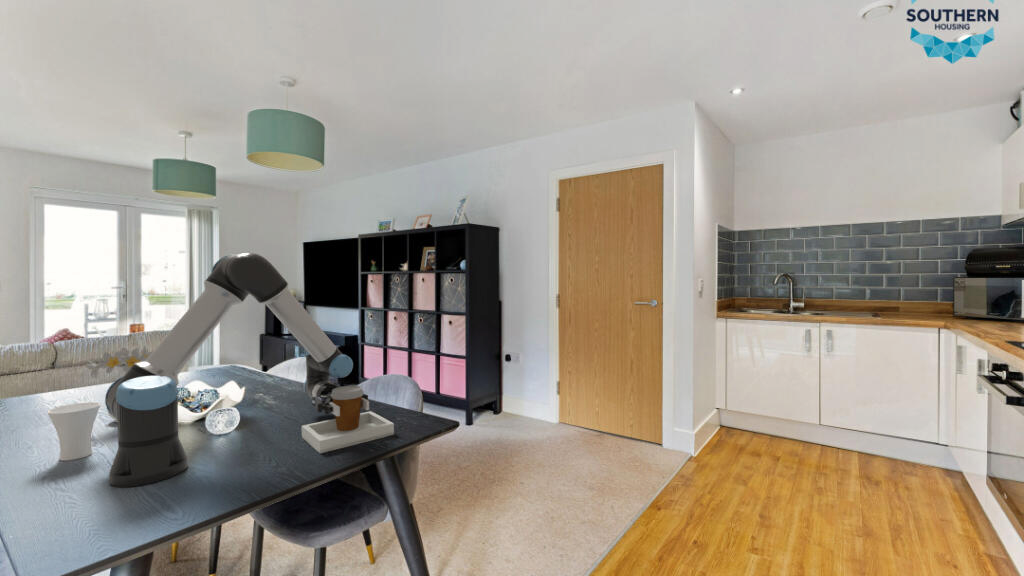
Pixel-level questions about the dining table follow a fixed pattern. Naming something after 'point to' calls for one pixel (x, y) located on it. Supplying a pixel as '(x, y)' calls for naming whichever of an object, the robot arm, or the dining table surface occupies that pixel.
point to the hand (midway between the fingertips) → (353, 408)
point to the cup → (74, 428)
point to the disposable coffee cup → (348, 406)
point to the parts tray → (346, 432)
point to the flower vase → (119, 363)
